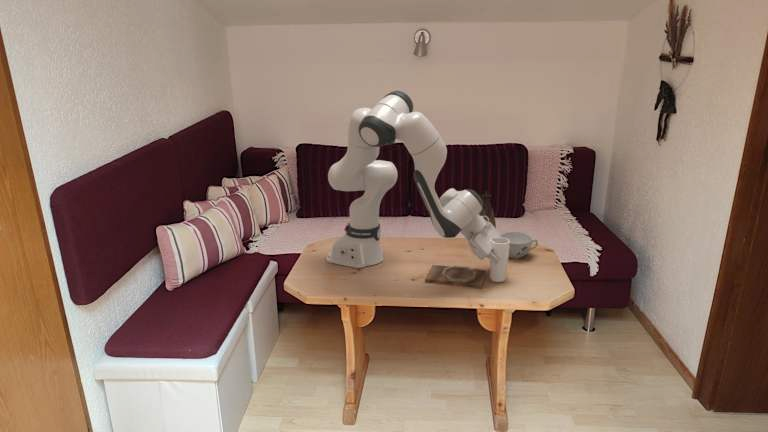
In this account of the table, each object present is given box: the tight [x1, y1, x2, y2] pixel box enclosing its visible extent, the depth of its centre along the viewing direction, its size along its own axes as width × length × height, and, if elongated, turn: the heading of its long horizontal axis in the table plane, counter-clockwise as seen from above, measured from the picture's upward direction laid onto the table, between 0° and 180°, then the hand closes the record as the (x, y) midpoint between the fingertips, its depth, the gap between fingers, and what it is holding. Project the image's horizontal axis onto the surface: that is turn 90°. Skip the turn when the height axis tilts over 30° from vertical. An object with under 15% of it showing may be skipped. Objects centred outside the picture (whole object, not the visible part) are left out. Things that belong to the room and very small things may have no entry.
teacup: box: [500, 231, 539, 260], centre depth 212 cm, size 15×12×8 cm
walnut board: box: [424, 264, 487, 289], centre depth 195 cm, size 20×13×2 cm, turn 73°
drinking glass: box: [489, 237, 510, 283], centre depth 190 cm, size 7×7×15 cm
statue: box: [479, 190, 497, 229], centre depth 213 cm, size 9×8×25 cm
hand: (500, 258), depth 190 cm, fingers closed on drinking glass, 6 cm apart
